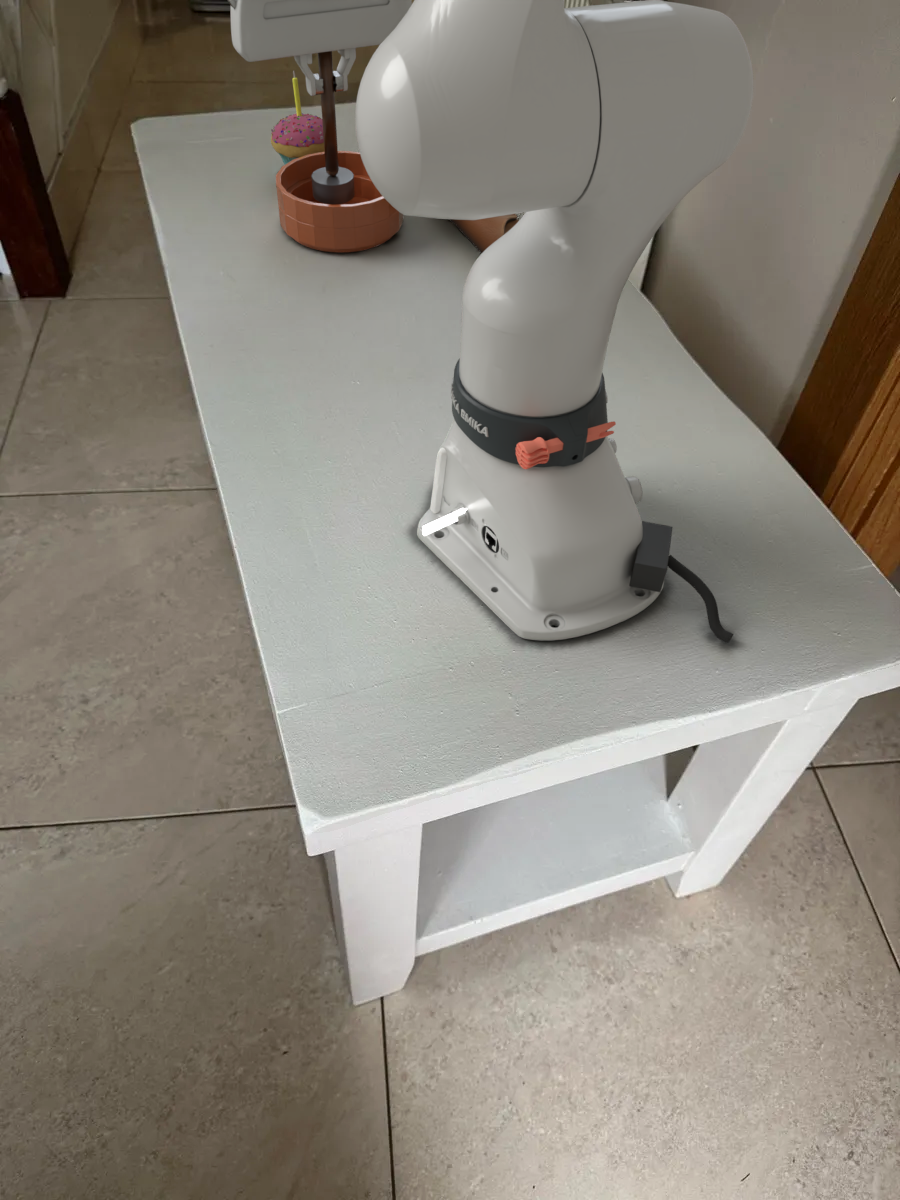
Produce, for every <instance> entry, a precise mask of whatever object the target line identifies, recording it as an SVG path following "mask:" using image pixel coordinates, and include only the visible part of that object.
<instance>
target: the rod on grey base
mask: <svg viewBox="0 0 900 1200" xmlns="http://www.w3.org/2000/svg"><path fill="white" fill-rule="evenodd" d="M317 61H318V62H317V63H318V74H319V76H320V77H322V78H323V87H322V88H323V89H324V93H323V94H320V106H321V109H320V110H321V119H322V123H323V138H324V152H325V167H323V168H320V169H317V170H315V171H314V172H313V173H312V176H311V177H312V190H313V197H314V198H315V199H316V200H317V201H319V202H322V203H325V204H342V203H345V202H348V201H350V200H352V199H353V197H354V195H355V191H354V175H353V173H352V172H351V171H350V170H348V169H346V168H343V167H339V164H338V151H339V149H338V133H337V131H338V130H337V115H336V114H337V113H336V99H335V96H336V95H335V91H334V79H333V71H334V63H333V51H328V52H321V53H317Z"/></svg>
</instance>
